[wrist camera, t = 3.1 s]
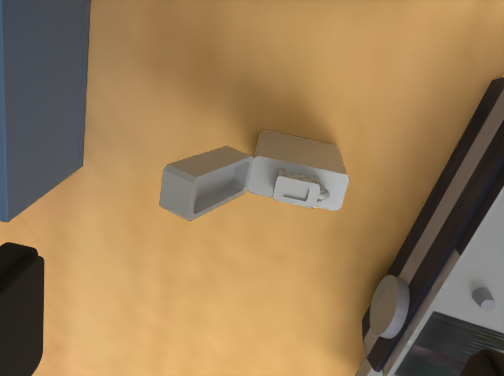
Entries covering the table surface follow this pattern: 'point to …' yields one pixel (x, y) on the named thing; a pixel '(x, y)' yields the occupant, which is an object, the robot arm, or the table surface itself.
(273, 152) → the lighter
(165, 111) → the table surface
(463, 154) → the radio
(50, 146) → the bin
